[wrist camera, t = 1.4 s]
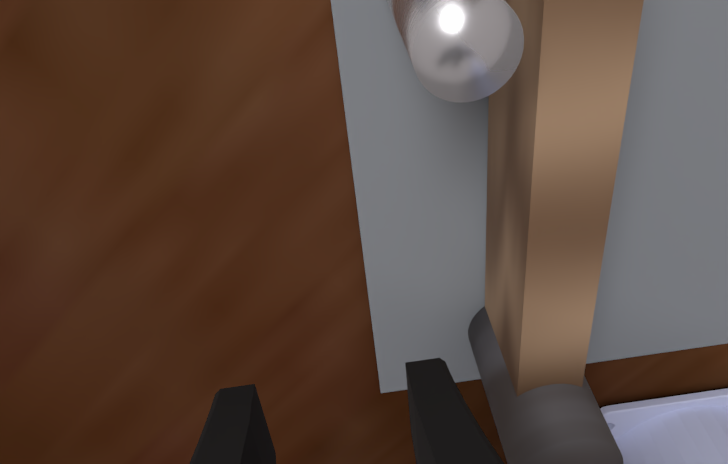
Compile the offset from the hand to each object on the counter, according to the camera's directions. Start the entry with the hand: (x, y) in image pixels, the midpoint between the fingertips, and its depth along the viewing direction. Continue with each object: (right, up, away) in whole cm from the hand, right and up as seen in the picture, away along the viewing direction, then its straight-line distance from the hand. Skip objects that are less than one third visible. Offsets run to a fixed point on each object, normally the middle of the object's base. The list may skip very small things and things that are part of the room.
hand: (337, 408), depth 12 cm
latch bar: (+5, +5, +8) cm, 11 cm away
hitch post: (+2, +10, +5) cm, 11 cm away
